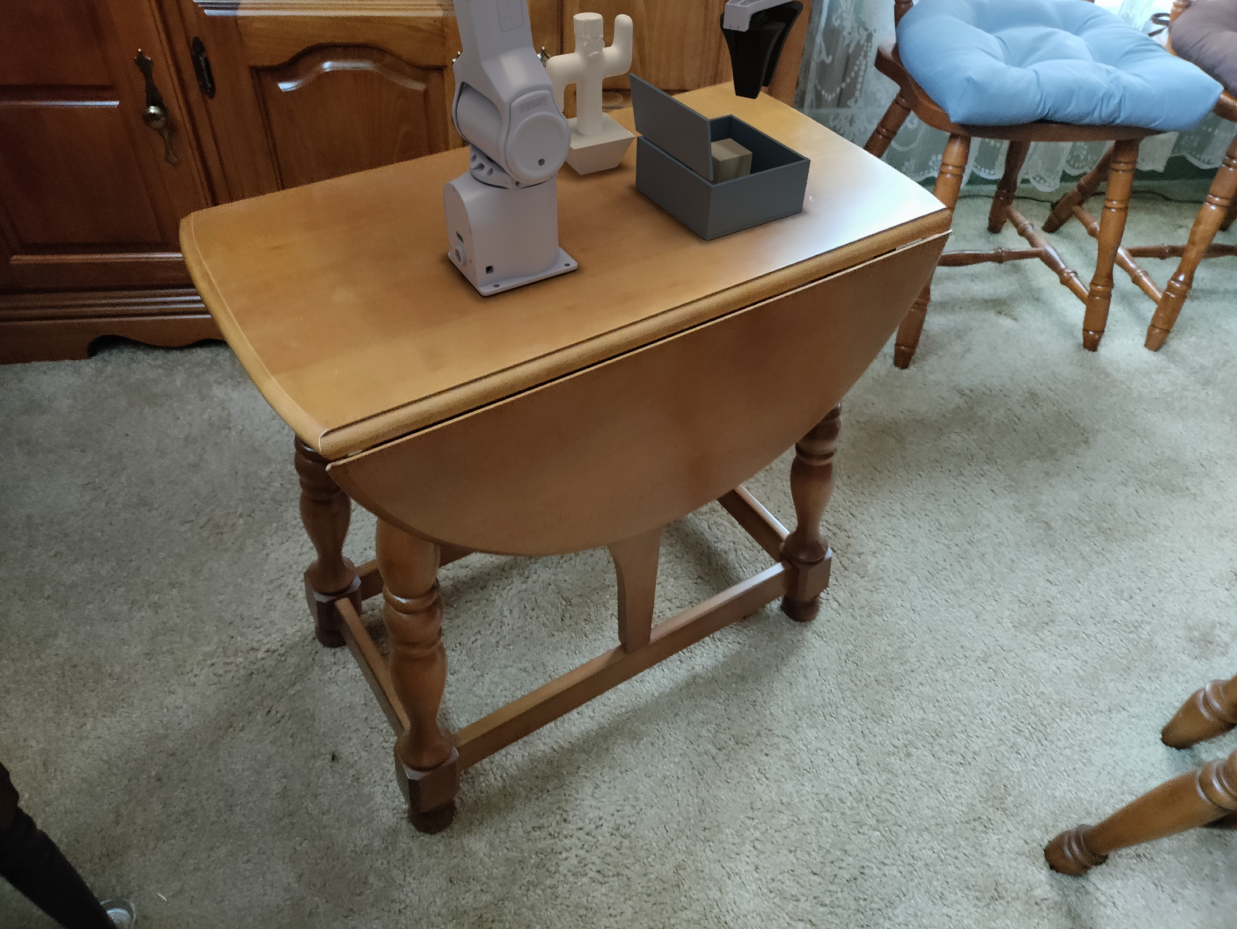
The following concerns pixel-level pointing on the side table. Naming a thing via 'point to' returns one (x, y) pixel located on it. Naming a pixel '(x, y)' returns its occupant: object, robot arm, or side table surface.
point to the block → (729, 161)
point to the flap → (672, 126)
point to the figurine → (593, 91)
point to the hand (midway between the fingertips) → (752, 90)
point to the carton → (732, 202)
